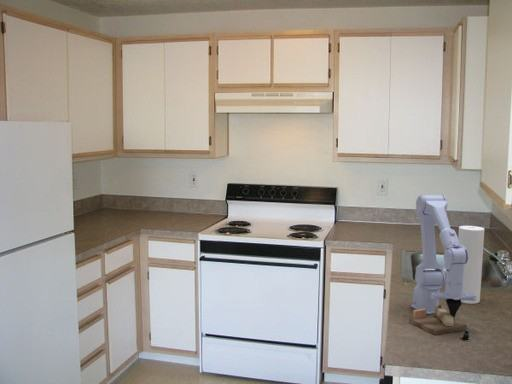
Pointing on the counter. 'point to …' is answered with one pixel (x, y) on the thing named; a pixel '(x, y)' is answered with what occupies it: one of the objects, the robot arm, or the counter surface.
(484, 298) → the counter surface
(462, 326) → the board
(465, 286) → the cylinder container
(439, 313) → the hinged leg
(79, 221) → the counter surface
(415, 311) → the block
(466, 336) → the sculpture
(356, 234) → the counter surface
